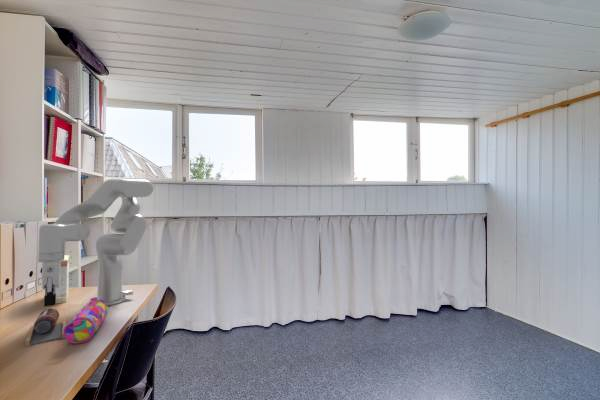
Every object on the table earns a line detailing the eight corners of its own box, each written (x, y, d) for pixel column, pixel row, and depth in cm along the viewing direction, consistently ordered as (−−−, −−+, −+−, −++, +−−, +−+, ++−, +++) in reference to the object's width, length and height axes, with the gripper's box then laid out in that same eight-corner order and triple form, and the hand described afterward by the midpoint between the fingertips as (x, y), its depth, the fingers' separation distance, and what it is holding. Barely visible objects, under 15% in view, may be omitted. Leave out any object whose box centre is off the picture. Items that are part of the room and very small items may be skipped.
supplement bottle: (63, 315, 109) (59, 326, 100) (47, 327, 107) (40, 340, 97) (51, 304, 107) (45, 315, 98) (34, 316, 105) (26, 328, 95)
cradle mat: (66, 323, 108) (66, 319, 108) (65, 337, 97) (65, 333, 97) (30, 330, 102) (30, 326, 102) (25, 346, 91) (25, 341, 91)
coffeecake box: (50, 295, 139) (51, 255, 139) (68, 293, 143) (69, 254, 143) (46, 305, 127) (47, 261, 127) (66, 302, 131) (68, 259, 131)
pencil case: (80, 321, 110) (80, 298, 111) (108, 318, 114) (109, 295, 115) (61, 348, 91) (62, 319, 91) (96, 342, 95) (97, 315, 95)
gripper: (63, 258, 104) (61, 309, 104) (65, 252, 116) (63, 298, 116) (35, 261, 100) (33, 313, 99) (40, 254, 112) (38, 301, 111)
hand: (49, 305), depth 108 cm, fingers closed
